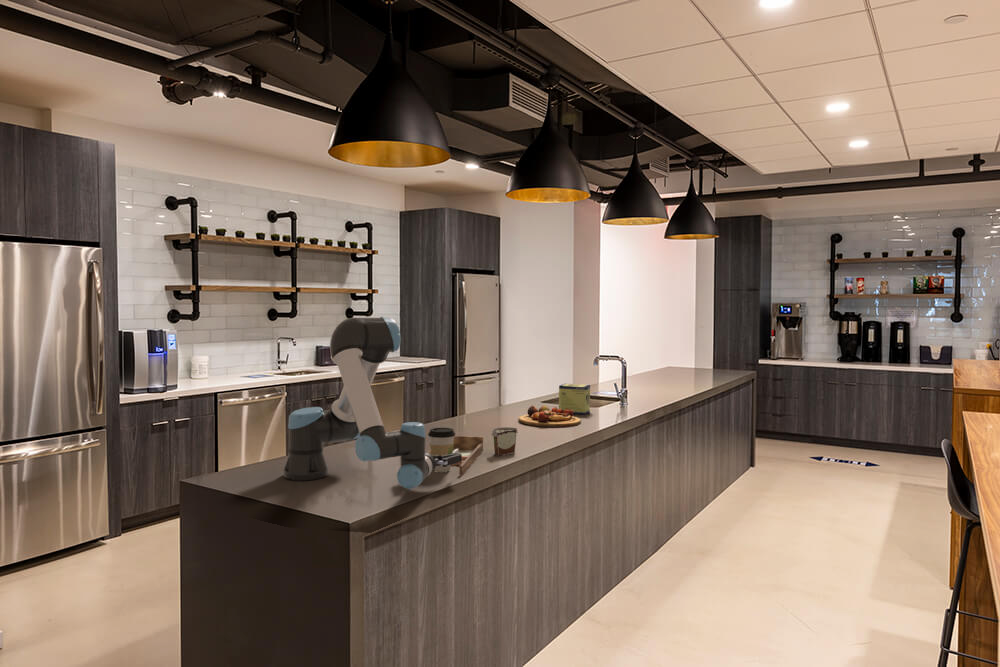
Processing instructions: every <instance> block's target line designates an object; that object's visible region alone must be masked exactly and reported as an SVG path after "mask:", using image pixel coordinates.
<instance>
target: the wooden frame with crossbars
mask: <svg viewBox="0 0 1000 667" xmlns="http://www.w3.org/2000/svg"><path fill="white" fill-rule="evenodd" d="M453 442H454V445H453V451H454V450H455V449H458V453H459V454H462V460H465V461H462V462H458V463H455V464H452V465H451V466H456V465H460V466H459V471H458V472H459V475H461V476H460V477H463V476H462V475H464V474H465V473H466V472H467V471H468V470H469V468H471V467H472V465H473V464H474V463H475V461H476V460H477V459H478V458H479V457H480V456H481V455H482V453H483V452H484V436H474V435H455V436H454V441H453ZM482 451H483V452H482ZM481 452H482V453H481ZM427 453H429V454H431V450H430V449H429V450H428V451H427ZM478 456H479V457H478ZM477 457H478V458H477ZM476 458H477V459H476ZM473 462H474V463H473ZM472 463H473V464H472ZM471 464H472V465H471ZM467 469H468V470H467ZM466 470H467V471H466Z"/></svg>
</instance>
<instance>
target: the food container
mask: <svg viewBox="0 0 1000 667" xmlns="http://www.w3.org/2000/svg"><path fill="white" fill-rule="evenodd" d="M517 434H518V428H517V427H506V426H505V427H504V426H503V427H496V428H493V430H492V433H491V436H492V437H493V448H494V455H495V454H496V455H498V456H497V457H500V456H499V455H502V456H505V455H504V454H507V455H510V454H509V453H511V454H515V453H516V443H517ZM514 452H515V453H514ZM496 455H495V456H496Z"/></svg>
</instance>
